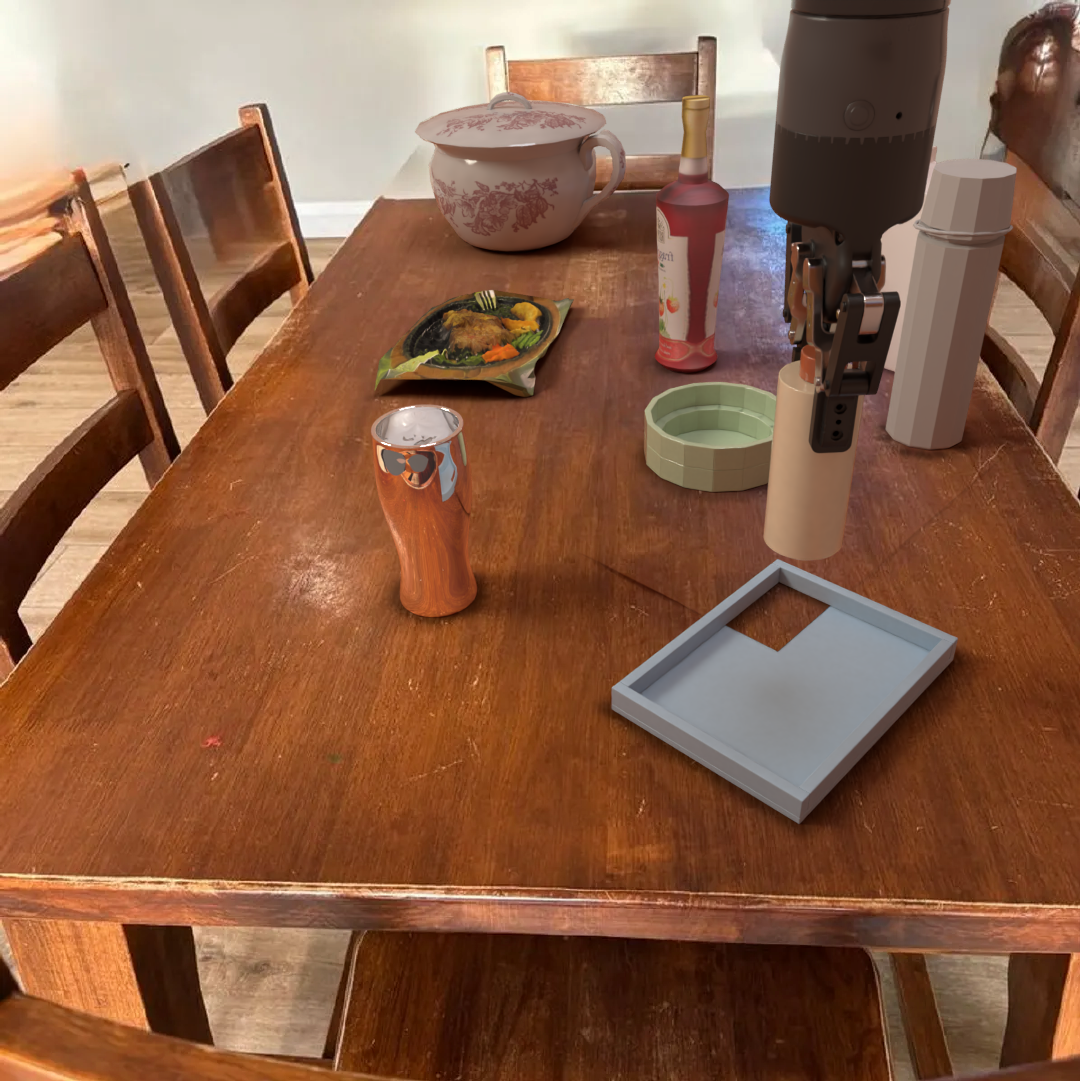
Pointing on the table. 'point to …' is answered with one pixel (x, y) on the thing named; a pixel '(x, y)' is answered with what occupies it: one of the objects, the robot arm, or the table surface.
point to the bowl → (710, 436)
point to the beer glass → (427, 504)
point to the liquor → (690, 250)
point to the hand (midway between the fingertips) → (817, 425)
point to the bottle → (805, 472)
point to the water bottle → (949, 300)
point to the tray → (785, 690)
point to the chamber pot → (518, 170)
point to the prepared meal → (478, 340)
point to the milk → (901, 266)
